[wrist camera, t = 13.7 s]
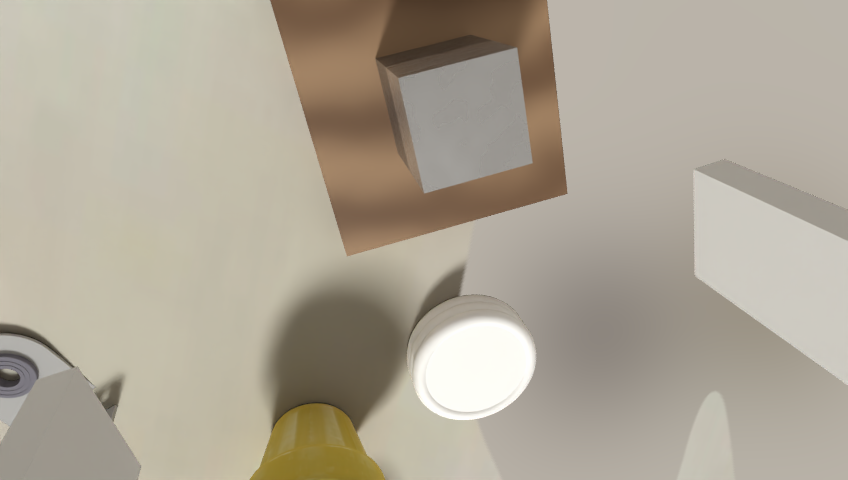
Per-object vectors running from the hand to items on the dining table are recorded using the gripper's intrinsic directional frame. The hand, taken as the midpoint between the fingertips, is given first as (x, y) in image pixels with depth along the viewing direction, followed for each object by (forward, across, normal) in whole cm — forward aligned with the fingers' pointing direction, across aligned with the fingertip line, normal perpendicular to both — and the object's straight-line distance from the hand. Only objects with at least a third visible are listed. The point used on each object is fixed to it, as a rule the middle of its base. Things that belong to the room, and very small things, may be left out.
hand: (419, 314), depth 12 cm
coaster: (+28, +5, -23) cm, 37 cm away
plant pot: (+28, -9, -27) cm, 40 cm away
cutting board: (+28, +7, -2) cm, 29 cm away
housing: (+26, +7, -2) cm, 26 cm away
